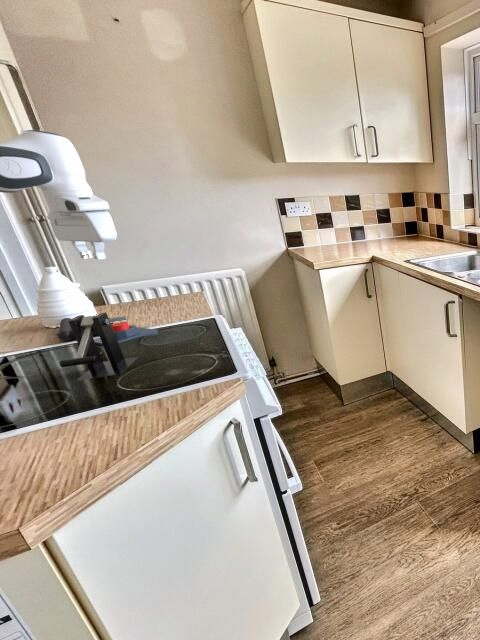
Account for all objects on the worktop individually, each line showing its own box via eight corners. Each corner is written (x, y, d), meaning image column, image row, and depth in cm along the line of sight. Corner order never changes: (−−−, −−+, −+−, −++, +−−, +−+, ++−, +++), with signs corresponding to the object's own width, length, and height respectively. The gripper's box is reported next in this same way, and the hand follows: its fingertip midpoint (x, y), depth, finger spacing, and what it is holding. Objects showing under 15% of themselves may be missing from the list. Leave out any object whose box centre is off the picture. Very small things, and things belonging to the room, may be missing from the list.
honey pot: (104, 319, 139) (82, 264, 132) (50, 331, 129) (23, 272, 122) (91, 313, 145) (69, 261, 139) (38, 324, 135) (12, 269, 129)
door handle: (123, 310, 139) (54, 318, 129) (127, 323, 126) (49, 334, 115) (126, 319, 140) (57, 329, 130) (130, 333, 127) (53, 345, 116)
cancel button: (118, 332, 115) (115, 326, 115) (110, 331, 116) (107, 325, 116) (133, 328, 118) (130, 322, 118) (125, 327, 120) (122, 321, 119)
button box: (110, 350, 112) (105, 338, 111) (90, 346, 115) (85, 334, 114) (159, 335, 122) (155, 323, 121) (139, 332, 125) (135, 321, 124)
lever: (98, 365, 89) (92, 357, 87) (64, 370, 87) (57, 362, 85) (110, 321, 97) (105, 314, 95) (79, 325, 94) (73, 317, 93)
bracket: (123, 378, 95) (99, 320, 90) (77, 385, 92) (50, 326, 87) (140, 361, 104) (120, 307, 99) (99, 367, 101) (76, 312, 96)
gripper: (32, 204, 106) (55, 259, 111) (80, 203, 99) (102, 262, 104) (64, 202, 111) (85, 255, 116) (112, 202, 105) (131, 258, 110)
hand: (93, 258), depth 110 cm, fingers open, 4 cm apart
